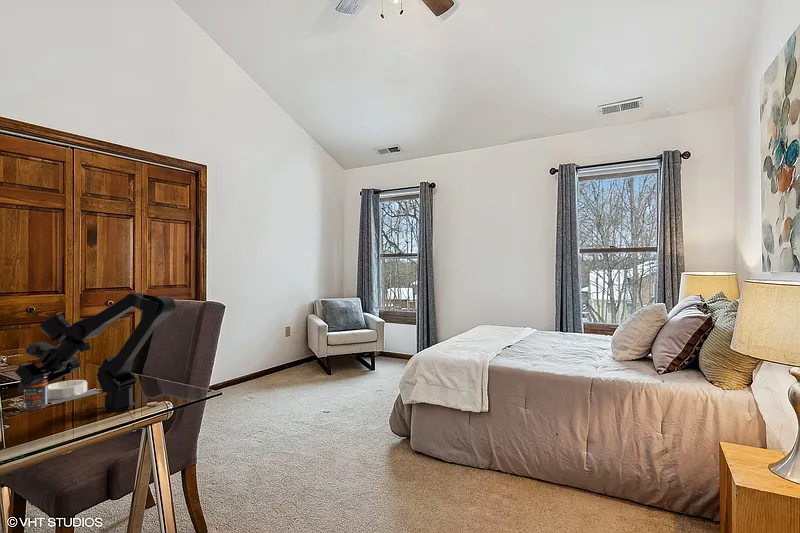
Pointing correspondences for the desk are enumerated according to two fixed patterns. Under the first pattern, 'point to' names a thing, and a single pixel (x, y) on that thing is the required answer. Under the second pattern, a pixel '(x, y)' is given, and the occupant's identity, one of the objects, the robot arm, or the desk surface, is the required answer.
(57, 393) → the bowl
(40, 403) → the supplement bottle
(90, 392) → the mat
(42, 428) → the desk surface
